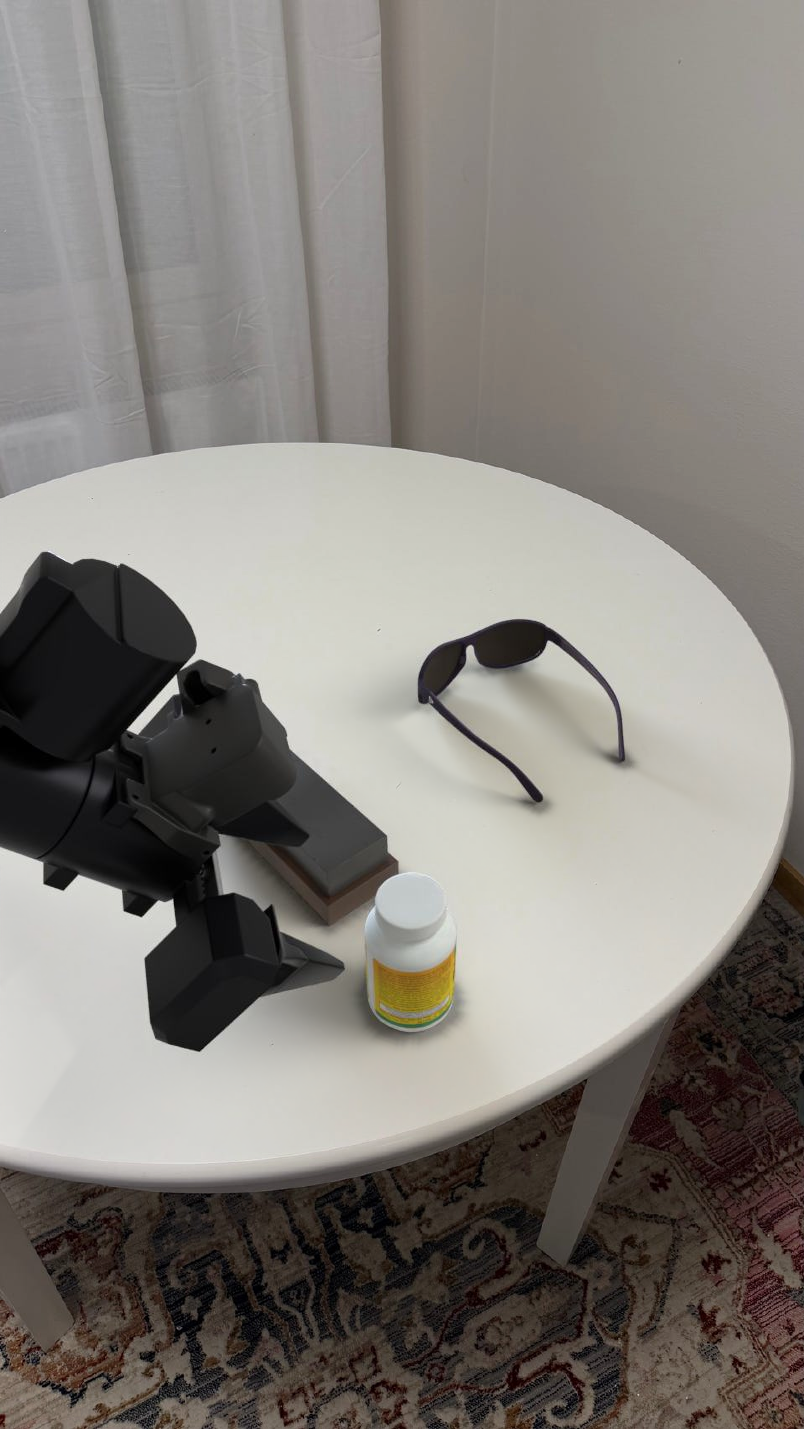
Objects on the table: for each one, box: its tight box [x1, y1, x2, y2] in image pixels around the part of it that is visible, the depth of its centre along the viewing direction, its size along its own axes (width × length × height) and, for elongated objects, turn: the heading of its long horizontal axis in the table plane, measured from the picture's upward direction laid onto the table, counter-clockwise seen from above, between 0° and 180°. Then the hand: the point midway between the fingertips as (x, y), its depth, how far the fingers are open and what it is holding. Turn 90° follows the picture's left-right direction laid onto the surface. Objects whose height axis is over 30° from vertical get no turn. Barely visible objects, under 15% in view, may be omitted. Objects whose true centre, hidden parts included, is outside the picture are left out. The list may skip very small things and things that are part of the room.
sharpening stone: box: [245, 749, 400, 926], centre depth 70 cm, size 13×6×4 cm, turn 40°
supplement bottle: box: [363, 872, 458, 1033], centre depth 59 cm, size 5×5×10 cm
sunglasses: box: [417, 618, 626, 804], centre depth 80 cm, size 14×16×5 cm
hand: (321, 901), depth 54 cm, fingers open, 9 cm apart
